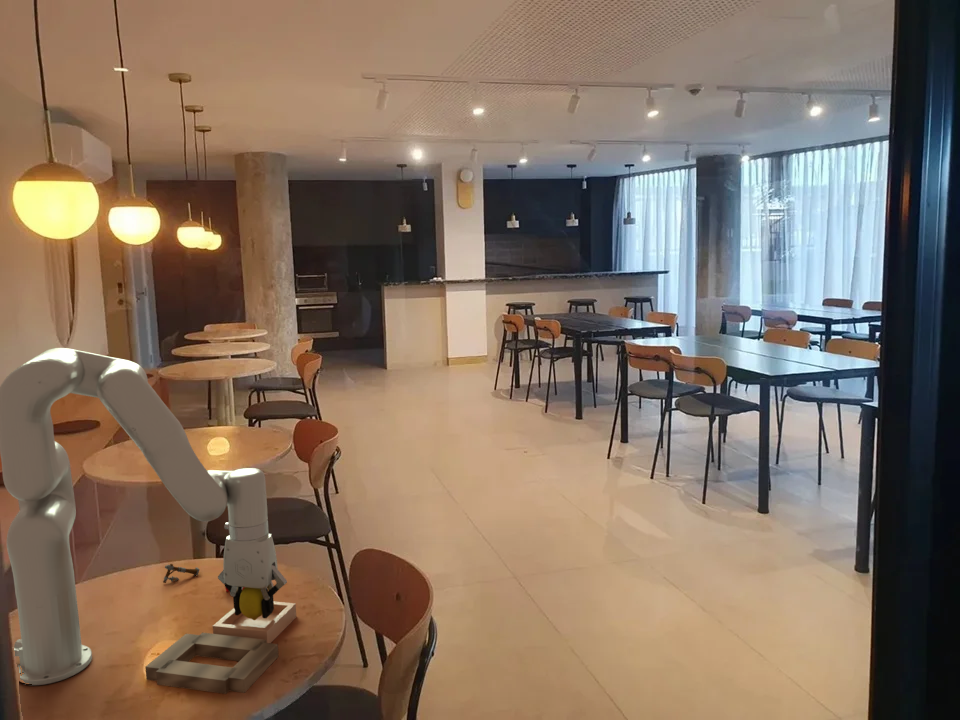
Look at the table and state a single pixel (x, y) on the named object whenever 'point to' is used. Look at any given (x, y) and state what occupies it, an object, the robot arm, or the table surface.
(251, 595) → the lemon
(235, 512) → the robot arm
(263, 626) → the tray
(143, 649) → the table surface
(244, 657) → the rectangular open frame
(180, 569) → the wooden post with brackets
